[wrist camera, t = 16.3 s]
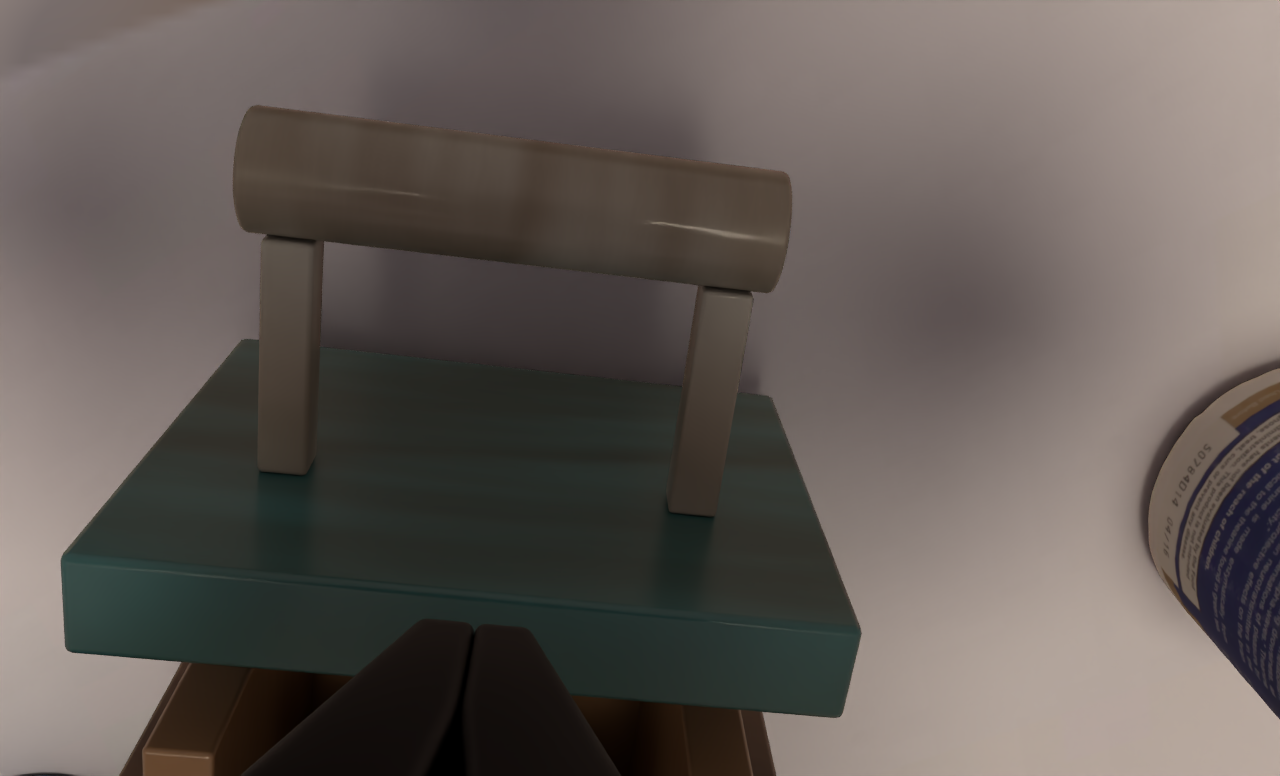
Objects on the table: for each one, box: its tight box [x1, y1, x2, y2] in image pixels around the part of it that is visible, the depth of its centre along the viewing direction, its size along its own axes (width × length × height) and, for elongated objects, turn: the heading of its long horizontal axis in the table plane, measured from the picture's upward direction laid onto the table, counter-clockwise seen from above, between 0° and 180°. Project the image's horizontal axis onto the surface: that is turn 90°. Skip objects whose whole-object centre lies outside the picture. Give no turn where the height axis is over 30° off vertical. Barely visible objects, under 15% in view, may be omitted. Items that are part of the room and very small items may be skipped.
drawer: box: [61, 105, 862, 776], centre depth 17 cm, size 16×8×7 cm, turn 172°
